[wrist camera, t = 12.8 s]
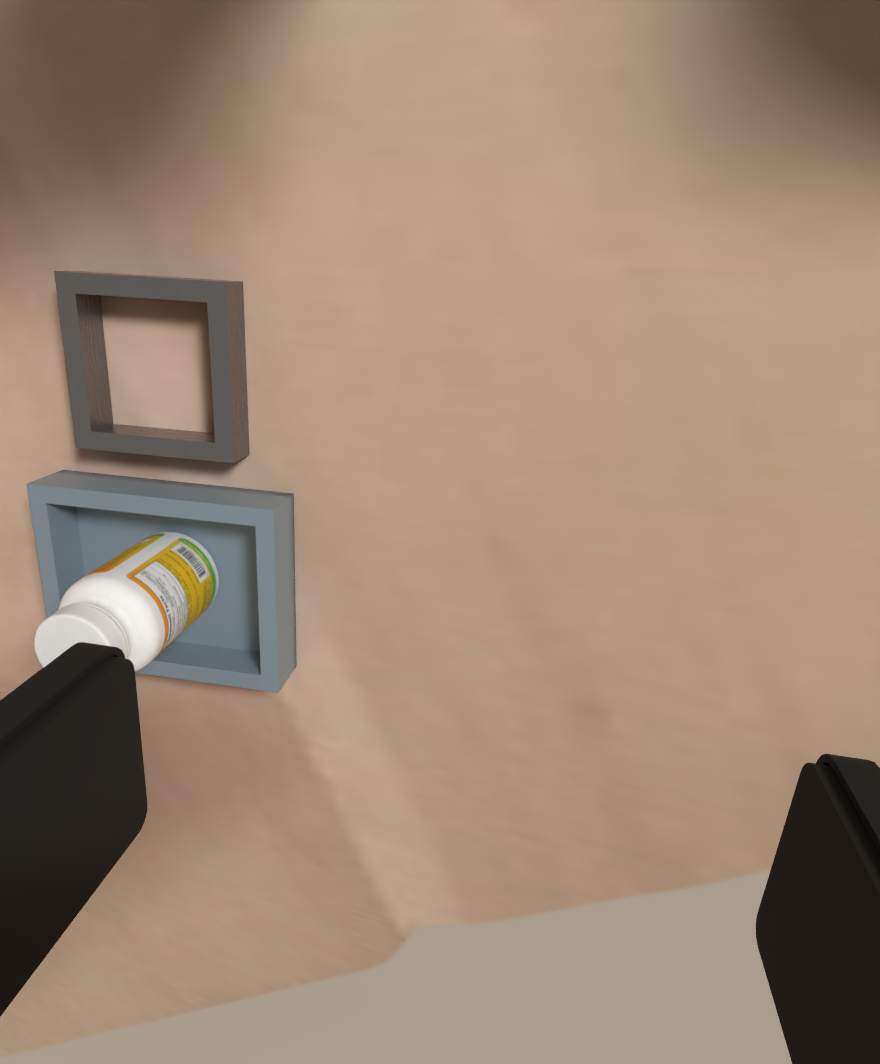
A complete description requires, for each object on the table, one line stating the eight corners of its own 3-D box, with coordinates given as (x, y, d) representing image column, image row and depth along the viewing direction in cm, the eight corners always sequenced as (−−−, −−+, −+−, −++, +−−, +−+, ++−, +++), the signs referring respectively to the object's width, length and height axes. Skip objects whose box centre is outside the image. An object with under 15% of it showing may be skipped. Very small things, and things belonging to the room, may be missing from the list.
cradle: (79, 271, 37) (54, 271, 35) (242, 281, 36) (225, 281, 34) (98, 440, 40) (76, 447, 38) (249, 454, 39) (233, 463, 37)
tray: (62, 469, 41) (26, 484, 39) (293, 493, 39) (273, 510, 37) (84, 637, 45) (53, 661, 42) (296, 666, 43) (278, 692, 40)
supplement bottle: (133, 602, 43) (20, 688, 34) (136, 519, 41) (16, 588, 32) (218, 623, 42) (125, 716, 33) (225, 541, 40) (129, 617, 31)
